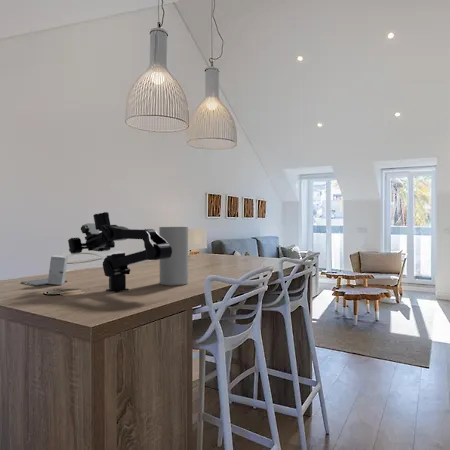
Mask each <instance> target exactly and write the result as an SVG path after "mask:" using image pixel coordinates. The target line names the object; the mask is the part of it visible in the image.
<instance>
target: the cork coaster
mask: <svg viewBox="0 0 450 450" xmlns="http://www.w3.org/2000/svg"><path fill="white" fill-rule="evenodd" d="M59 294H60V295H63V296H62V297H77V296H82V295H84V294H86V291H84V290H66V291H62V292H60V293H59ZM60 295H59V296H60ZM76 295H77V296H76Z"/></svg>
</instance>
